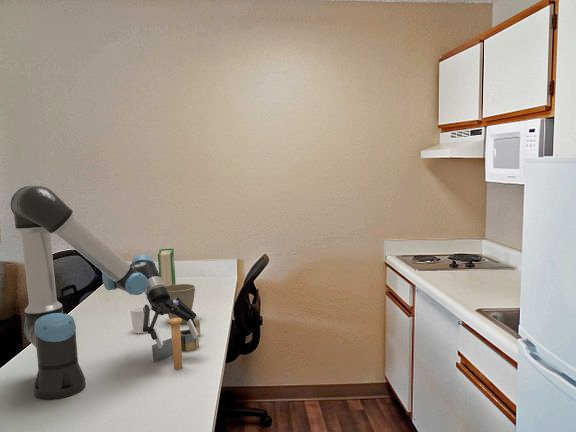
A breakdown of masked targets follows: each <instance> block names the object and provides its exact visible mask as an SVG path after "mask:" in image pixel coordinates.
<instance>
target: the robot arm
mask: <svg viewBox="0 0 576 432" xmlns="http://www.w3.org/2000/svg"><path fill="white" fill-rule="evenodd" d="M10 210H11V212H12V214H13V217H14V227H15V230H17V232H19V233H20V234H21V241H22V242H21V243H22V251H23V253H22V254H23V261H24V268H25V269H24V271H25V272H24V273H25V278H26V279H25V281H26V288H27V289H26V290H27V299H28V305H27V307H26V308H25V309H24V317H25V319H24V326H23V331H24V336H25V337H26V338H25V339H27V340H28V341H29V343H31V345H32V346H34V347H35V349H36V358H37V367H38V368H37V373H36V377H35V382H34V385H33V394H34V397H35V398H37V399H40V400H57V399H63V398H68V397H70V396H73V395H75V394H77V393H80V392H81V391H83V390H84V389H85V388H86V386H87V383H86V377H85V374H84V373H83V371H82V368H81V366H80V363H79V357H78V346H77V332H76V330H77V326H76V323H75V321H76V320H75V319H74V317H73V315H70V314H68V313H64V309H63V308H64V307H63V304H62V303H61V302H60V301H58V299H57V286H56V279H55V278H56V277H55V269H54V266H55V265H54V258H53V250H52V249H53V248H52V238H51V234H56V235H57V236H58V237H60V238H61V239H62V240H63V241H64V242H65V243H67V244H68V245H69V246H70V247H72V249H74V250H75V251H77V252H78V253H79V254H80V255H82V256H83V257H84V258H85V259H86V260H87V261H89V262H90V263H91V264H93V266H95V267H96V268H97V269H99V271H101V272H102V274H101V276H102V277H101V278H102V284H103V286H104V289H106V291H113V290H114V291H115V290H117V289H120V290H121V291H124V292H126V293H128V294H129V295H132V296H133V295H134V296H139V295H143V294H145V296H146V298H147V301H148V303H149V304H145V305H144V308H143V311H144V322H143V332H147V334H149V335H150V336H151V340H153V341H155V344H157V345H158V347H159V349H160V348H162V346H163V342H162V341H163V340H162V338H161V335H160V332H159V331H158V329H157V328H156V327H155V325H156V322H157V321H158V318H159V316H164V315H168V314H169V313H171V314H175V315H177V316H178V317H180V318H182V319H184V320H186V321H187V323H186V325H187V327H188V329H190V331H191V333H192V336H193V338H194V339H196V338H197V336H198V332H197V330H196V324H195V319H196V318H197V313H195V311H194V310H193V309H192V310H191V309H190V308H188V307H187V306H186V305H185V304H184V303H183V302H182V301H181V300H180V298H178V297H177V298H176V299H175V300H171V299H170V295H169V293H168V291H167V289H166V288H165V285H164V283H163V281H162V279H161V277H160V275H159V269H158V268H157V266H156V263H155V261H154V260H153V259H152V257H151V255H149V254H147V253H146V254H145V253H143V254H139V255H138V256H135V257H133V259H132V261H131V263H129V262H127V261H126V260H125V259H124V258H122V256H120V255H119V254H118V253H117V252H116V251H114V249H113V248H111V247H110V246H109V245H107V244H106V242H104V241H103V240H102V239H101V238H100V237H98V235H96V234H95V233H94V232H93V231H92V230H90V228H88V227H87V226H86V225H85V224H83V222H81V221H80V220H79V219H78V218H77V217H76V216H75V214H74V210H72V209H71V208H70V207H69V206H68V205H67V204H66V203H65V202H64V201H63V200H62V199H61V198H60V197H59V196H58V195H57V194H56V193H55V192H54V191H53V190H51V189H49V188H48V187H45V186H42V185H26V186H22V187H20V188H19V189H18V190H16V191H15V193H14V194H12V196H11V199H10ZM173 304H175V305H173ZM176 306H177V307H178V308H179V309H178V308H177V307H176ZM172 308H173V310H172ZM151 310H152V311H153V312H154V315H153V318H152V320H151V321H150V327H149V326H148V322H149V312H150V313H151Z"/></svg>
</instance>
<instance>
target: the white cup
mask: <svg viewBox="0 0 576 432" xmlns="http://www.w3.org/2000/svg"><path fill="white" fill-rule="evenodd" d="M144 306H145V305H144ZM144 306H135V307H132V308H131V309H130V317H131V324H132V331H133V333H134V334H135V333H138V334H137V335H140V334H139V333H144V334H147V333H146V332H143V322H144V311H143V308H144ZM150 313H151V311H150V312H149V322H148V326H149V327H150V325H151V314H150Z"/></svg>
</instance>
